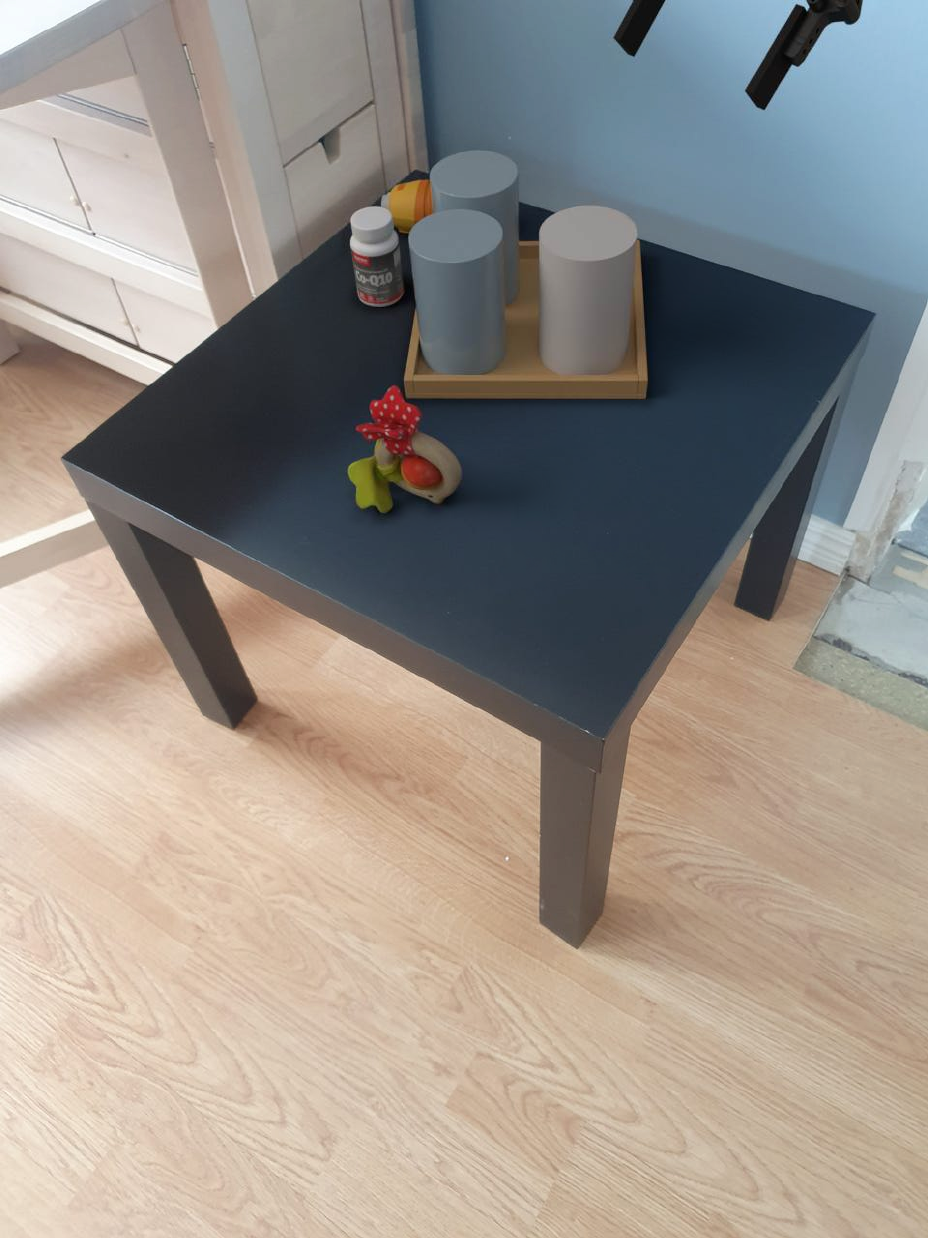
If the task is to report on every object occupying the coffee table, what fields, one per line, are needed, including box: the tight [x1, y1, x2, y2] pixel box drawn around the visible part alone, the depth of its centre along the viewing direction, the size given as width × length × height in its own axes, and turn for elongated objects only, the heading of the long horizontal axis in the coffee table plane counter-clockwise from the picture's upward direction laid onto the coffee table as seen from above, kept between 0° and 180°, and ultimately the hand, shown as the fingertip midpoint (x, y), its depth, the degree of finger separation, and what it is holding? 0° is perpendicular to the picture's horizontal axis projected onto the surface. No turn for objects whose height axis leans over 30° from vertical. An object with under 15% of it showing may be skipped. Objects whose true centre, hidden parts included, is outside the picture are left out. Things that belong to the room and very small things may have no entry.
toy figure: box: [380, 179, 433, 235], centre depth 104 cm, size 5×6×12 cm
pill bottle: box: [349, 205, 405, 308], centre depth 97 cm, size 5×5×8 cm
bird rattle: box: [347, 384, 463, 514], centre depth 79 cm, size 6×11×9 cm
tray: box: [403, 239, 649, 400], centre depth 95 cm, size 22×22×2 cm
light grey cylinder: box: [538, 205, 639, 375], centre depth 88 cm, size 8×8×12 cm
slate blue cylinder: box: [407, 209, 506, 375], centre depth 89 cm, size 8×8×12 cm
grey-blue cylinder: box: [429, 149, 520, 306], centre depth 94 cm, size 8×8×12 cm
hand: (686, 73), depth 79 cm, fingers open, 13 cm apart
